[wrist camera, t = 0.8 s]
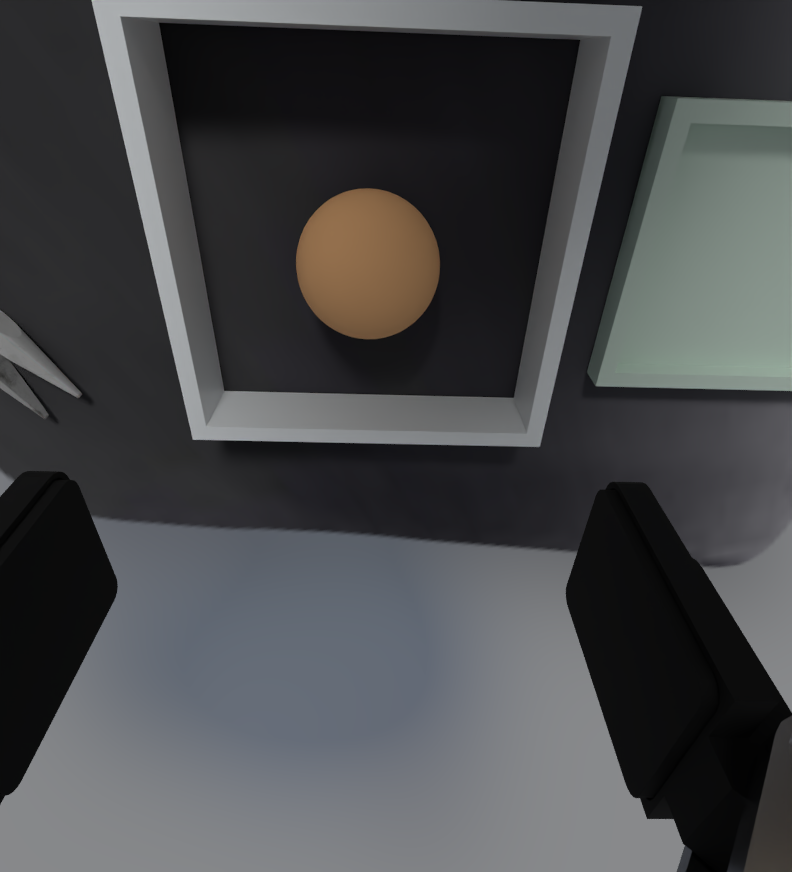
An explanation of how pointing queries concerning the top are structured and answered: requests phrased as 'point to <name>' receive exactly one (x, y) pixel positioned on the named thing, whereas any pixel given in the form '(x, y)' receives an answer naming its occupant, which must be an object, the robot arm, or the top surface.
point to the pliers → (26, 366)
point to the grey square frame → (178, 246)
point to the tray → (705, 254)
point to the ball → (368, 263)
